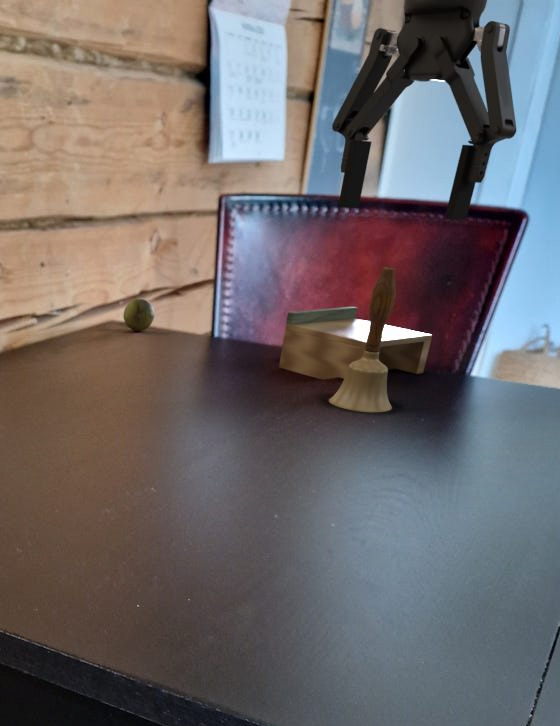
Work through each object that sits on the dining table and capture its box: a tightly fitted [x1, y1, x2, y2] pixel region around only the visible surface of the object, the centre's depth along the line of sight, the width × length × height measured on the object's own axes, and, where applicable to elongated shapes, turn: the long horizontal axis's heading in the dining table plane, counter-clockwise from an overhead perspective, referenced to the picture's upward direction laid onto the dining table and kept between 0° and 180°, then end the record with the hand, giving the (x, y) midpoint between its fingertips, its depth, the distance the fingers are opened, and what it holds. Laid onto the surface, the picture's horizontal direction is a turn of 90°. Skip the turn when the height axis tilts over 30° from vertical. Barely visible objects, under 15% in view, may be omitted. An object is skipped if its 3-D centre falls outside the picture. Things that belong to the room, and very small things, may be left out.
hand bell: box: [328, 266, 397, 413], centre depth 99 cm, size 8×8×16 cm
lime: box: [122, 298, 155, 332], centre depth 139 cm, size 4×5×5 cm
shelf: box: [278, 306, 433, 381], centre depth 119 cm, size 14×14×8 cm
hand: (399, 213), depth 92 cm, fingers open, 13 cm apart
